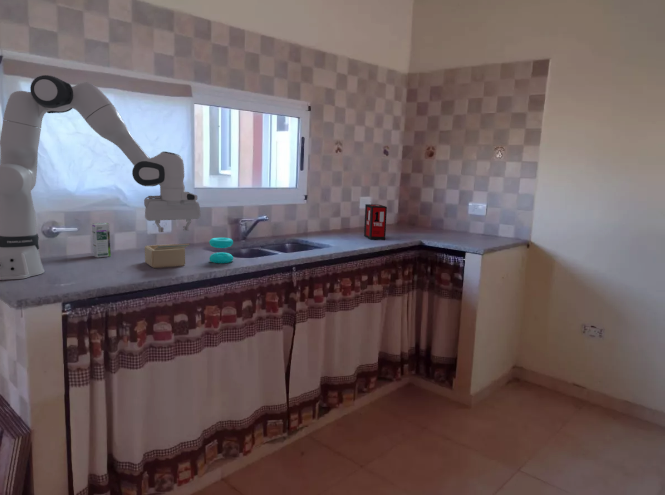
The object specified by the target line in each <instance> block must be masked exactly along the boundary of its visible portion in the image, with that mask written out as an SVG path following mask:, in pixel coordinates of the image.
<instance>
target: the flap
mask: <svg viewBox="0 0 665 495" xmlns="http://www.w3.org/2000/svg"><path fill="white" fill-rule="evenodd" d="M171 244H172V245H167V244H158V245H159V246H158V247H156V248H155V249H154V250H168V249H183V248H184V249H186V248H187V247H189V246H190V245H191V244H190V243H171Z"/></svg>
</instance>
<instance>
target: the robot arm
mask: <svg viewBox="0 0 665 495" xmlns="http://www.w3.org/2000/svg"><path fill="white" fill-rule="evenodd" d="M73 109H74V110H76V111H77V112H78V114H80V116H81V117H82V118H83V119H84V121H85V122H86V123H87V125H88V126H89V127H90V128H91V129H92V130H93V131H94V132H95V133H97V135H99V136H100V137H101V138H103V139H105V140H107V141H109V142H111V143H112V144H113V145H116V147H117V148H119V150H121V152H122V153H123V154H124V155H125V156H126V157H127V159H128V160H129V161H130V163H132V165H133V167H132V173H131V175H132V177H133V179H134V182H136V183H137V184H138V185H141V186H143V187H156V186H158V185H159V187H160V188H159V191H160V192H159V193H160V195H148V196H147V197H145V198H144V200H143V201H144V203H143V205H144V207H145V208H144V209H145V210H144V218H145V220H147V221H148V222H152V221H153V222H154V223H155V225H156V227H157V228H158V233H164V227H163V226H161V225H160V224H161V221H180V220H181V221H182V220H184V221H185V222H186V224H185V225H184V226H182V228H183V229H182V230H183V231H184V232H189V227H190V225H191V223H192V220H198V219H200V217H201V207H200V203H199V202H198V201H197V200H198V195H197V194H194V193H191V192H189V191H186V189H185V183H184V180H185V164H184V160H183V157H182V156H181V155H180V154H178V153H174V152H169V151H161V152H160V153H158V154H156V155H155V156H153V157H149V156H148V154H147V153H146V152H145V151H144V150H143V148H142V147H141V146H140V144H139V143H138V142H137V140H135V139H134V137H133V136H132V134H131V133H130V130H129V129H128V127H127V125H126V123H125V120H124V119H123V118H122V116H121V114H120V113H119V111H118V110H117V108H116V107H115V105H114V104H113V103H112V102H111V100H110V99H109V98H108V97H107V96H106V95H105V94H104V93H103V92H102V91H101V90H100V88H98V87H97V86H96V85H94V83H92V82H88V81H83V82H80V83H78V84H76V85H73V86H72V85H71V84H70V83H69V82H67V81H64V80H63V79H60V78H58V77H56V76H53V75H49V74H47V75H46V74H44V75H38V76H37V77H35V78H34V79H33V80H32V82H31V83H30V91H26V90H16V91H14V92H12V93H10V95H9V98H8V100H7V102H6V105H5V109H4V114H3V120H2V126H1V133H0V281H5V280H23V279H26V278H27V279H28V278H31V277H34V276H39V275H41V274H44V273H45V269H44V265H43V262H42V260H41V255H40V250H39V249H40V237H39V234H38V231H37V219H36V218H37V217H36V210H35V207H34V202H33V196H32V191H33V189H34V188H35V186H36V183H37V176H38V175H37V173H38V153H39V144H40V137H41V131H42V124H43V118H44V116H45V114H46V113H47V114H61V113H67V112H69V111H71V110H73Z"/></svg>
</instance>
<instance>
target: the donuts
mask: <svg viewBox="0 0 665 495" xmlns="http://www.w3.org/2000/svg"><path fill="white" fill-rule="evenodd" d="M208 243H209V245H210V246H211V247H212V248H216V249H226V248H230V247H232V246H233V245H234V240H233V239H232V238H229V237H213V238H211V239H210V240H209V241H208ZM233 260H234V256H233V255H232V254H231V253H229V252H222V251H221V252H220V251H219V252H214V253H212V254H211V255H209V261H210V262H211V263H213V264H229V263H231V262H233Z"/></svg>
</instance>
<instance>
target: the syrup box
mask: <svg viewBox="0 0 665 495" xmlns="http://www.w3.org/2000/svg"><path fill="white" fill-rule="evenodd" d="M110 230H111V229H110V224H109V223H108V222H96V223H95V222H94V223H93V222H92V223H91V232H92V234H91V235H92V247H93V248H92V250H93V257H95V258H97V259H98V258H105V257H109V258H110V257H111V256H112V254H111V252H112V251H111V236H110V234H111V232H110Z"/></svg>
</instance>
